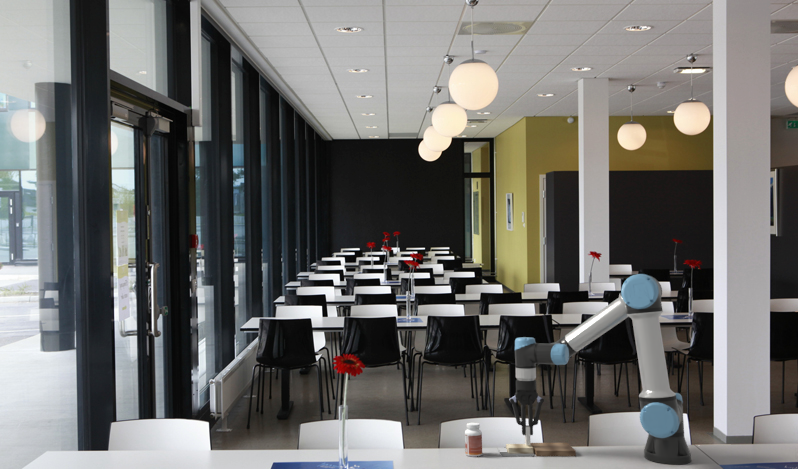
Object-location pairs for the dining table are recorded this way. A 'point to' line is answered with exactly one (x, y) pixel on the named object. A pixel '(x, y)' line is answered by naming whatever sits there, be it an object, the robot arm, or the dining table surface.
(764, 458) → the dining table surface
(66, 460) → the dining table surface
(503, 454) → the grey square plate
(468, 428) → the pill bottle
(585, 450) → the dining table surface
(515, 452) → the birch tile
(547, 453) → the board
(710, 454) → the dining table surface
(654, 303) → the robot arm
